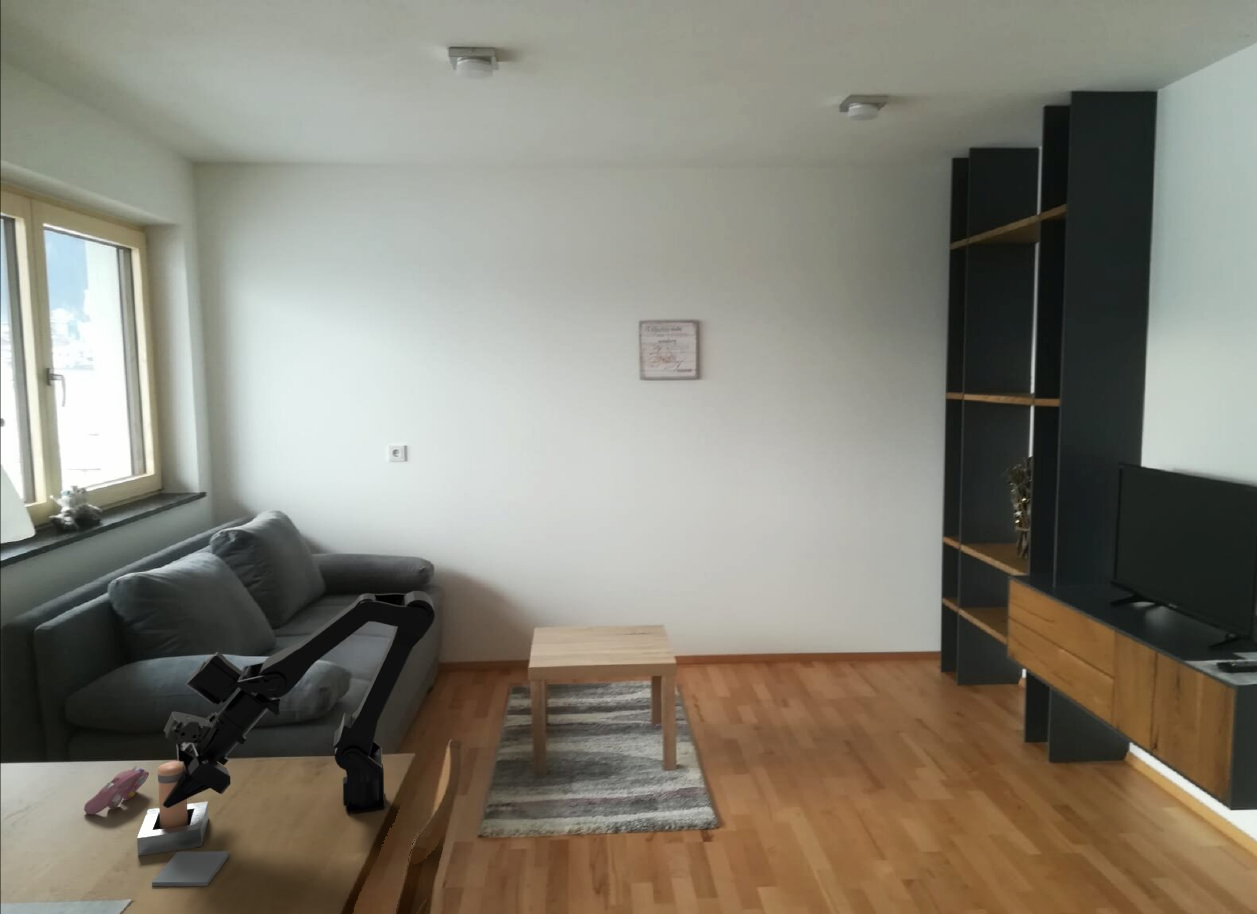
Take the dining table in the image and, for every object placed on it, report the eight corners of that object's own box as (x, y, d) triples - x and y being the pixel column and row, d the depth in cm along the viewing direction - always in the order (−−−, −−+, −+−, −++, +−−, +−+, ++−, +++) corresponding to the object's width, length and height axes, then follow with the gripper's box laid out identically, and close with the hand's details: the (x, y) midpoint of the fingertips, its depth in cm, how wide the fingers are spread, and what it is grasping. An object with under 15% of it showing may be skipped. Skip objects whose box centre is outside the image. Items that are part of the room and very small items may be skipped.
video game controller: (100, 826, 146) (115, 794, 145) (79, 812, 147) (93, 779, 145) (143, 798, 156) (157, 767, 154) (123, 784, 156) (137, 753, 155)
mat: (177, 854, 136) (177, 851, 136) (229, 854, 136) (229, 851, 136) (151, 885, 128) (151, 882, 128) (206, 885, 128) (206, 882, 128)
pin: (190, 827, 144) (187, 759, 142) (186, 840, 140) (183, 770, 138) (162, 831, 142) (160, 762, 141) (158, 844, 138) (155, 774, 137)
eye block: (208, 818, 147) (207, 801, 146) (201, 846, 138) (200, 828, 138) (148, 826, 144) (148, 809, 143) (137, 856, 135) (137, 838, 135)
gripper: (188, 676, 148) (116, 753, 143) (205, 714, 133) (126, 801, 128) (238, 710, 154) (171, 785, 149) (261, 751, 138) (187, 836, 133)
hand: (163, 800), depth 139 cm, fingers closed on pin, 4 cm apart
